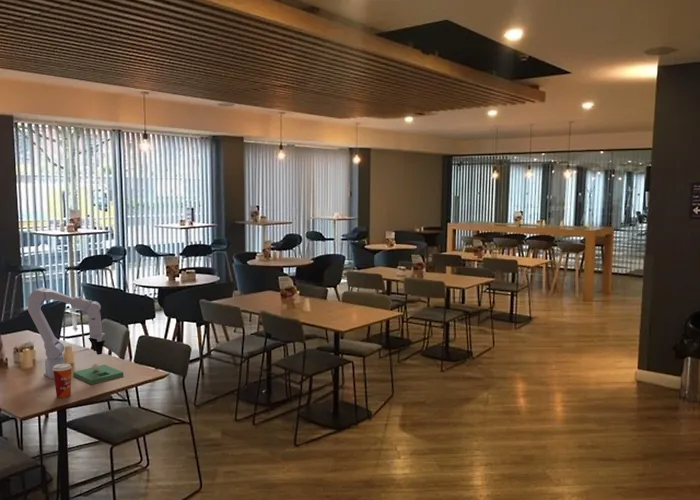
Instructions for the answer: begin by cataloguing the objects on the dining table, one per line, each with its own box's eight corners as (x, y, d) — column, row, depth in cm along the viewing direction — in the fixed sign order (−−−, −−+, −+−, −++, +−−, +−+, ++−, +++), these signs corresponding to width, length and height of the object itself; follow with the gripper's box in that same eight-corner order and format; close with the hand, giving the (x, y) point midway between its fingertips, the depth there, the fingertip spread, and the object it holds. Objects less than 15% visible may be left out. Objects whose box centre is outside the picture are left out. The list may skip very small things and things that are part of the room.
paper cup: (65, 399, 254) (63, 368, 253) (50, 398, 256) (48, 367, 254) (77, 393, 262) (75, 363, 260) (62, 392, 263) (60, 362, 262)
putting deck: (73, 375, 286) (73, 372, 286) (105, 368, 298) (104, 364, 298) (91, 384, 274) (91, 380, 273) (123, 376, 286) (123, 372, 285)
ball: (90, 371, 287) (90, 364, 287) (97, 369, 290) (97, 362, 289) (94, 372, 285) (93, 365, 284) (101, 370, 287) (100, 364, 287)
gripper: (107, 327, 285) (109, 354, 287) (100, 322, 297) (102, 348, 299) (91, 329, 281) (94, 357, 283) (85, 324, 293) (88, 350, 295)
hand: (97, 352), depth 290 cm, fingers open, 7 cm apart
